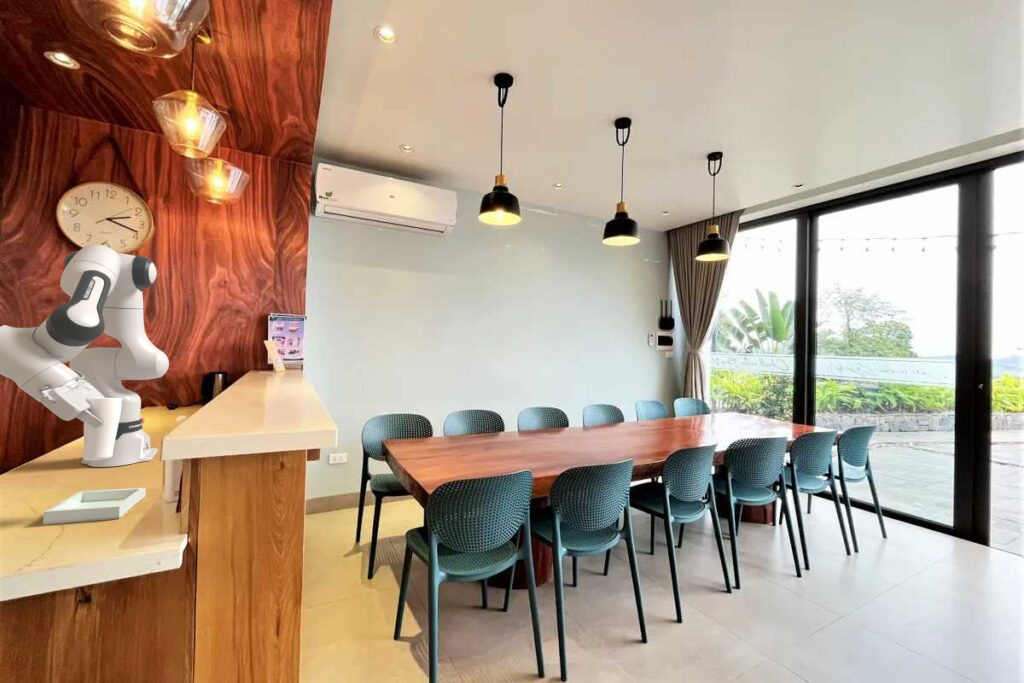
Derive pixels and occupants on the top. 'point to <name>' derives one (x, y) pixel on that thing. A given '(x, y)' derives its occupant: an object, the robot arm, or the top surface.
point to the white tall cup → (102, 428)
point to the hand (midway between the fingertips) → (105, 422)
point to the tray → (94, 506)
